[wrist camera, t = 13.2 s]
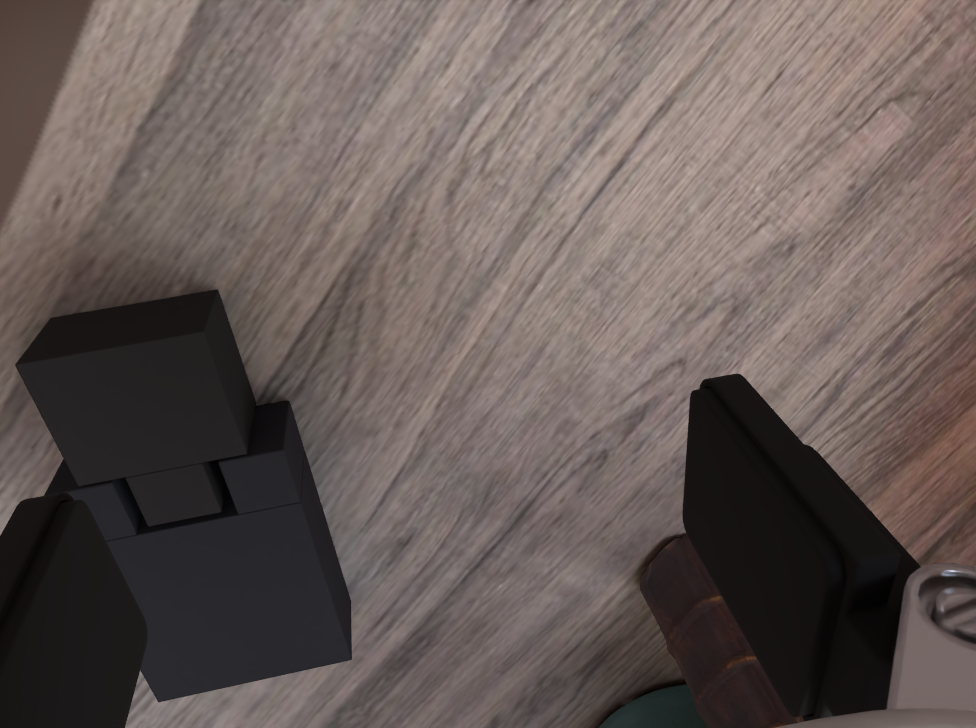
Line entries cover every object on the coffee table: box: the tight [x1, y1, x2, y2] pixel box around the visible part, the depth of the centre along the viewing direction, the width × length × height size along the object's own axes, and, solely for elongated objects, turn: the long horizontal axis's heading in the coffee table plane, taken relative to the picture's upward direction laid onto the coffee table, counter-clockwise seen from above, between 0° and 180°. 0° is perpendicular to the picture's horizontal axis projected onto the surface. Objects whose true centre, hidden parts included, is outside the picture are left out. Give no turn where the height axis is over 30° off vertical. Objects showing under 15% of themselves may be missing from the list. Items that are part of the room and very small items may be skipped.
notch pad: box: [44, 401, 352, 702], centre depth 36 cm, size 14×10×4 cm
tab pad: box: [15, 290, 256, 526], centre depth 32 cm, size 9×7×4 cm
